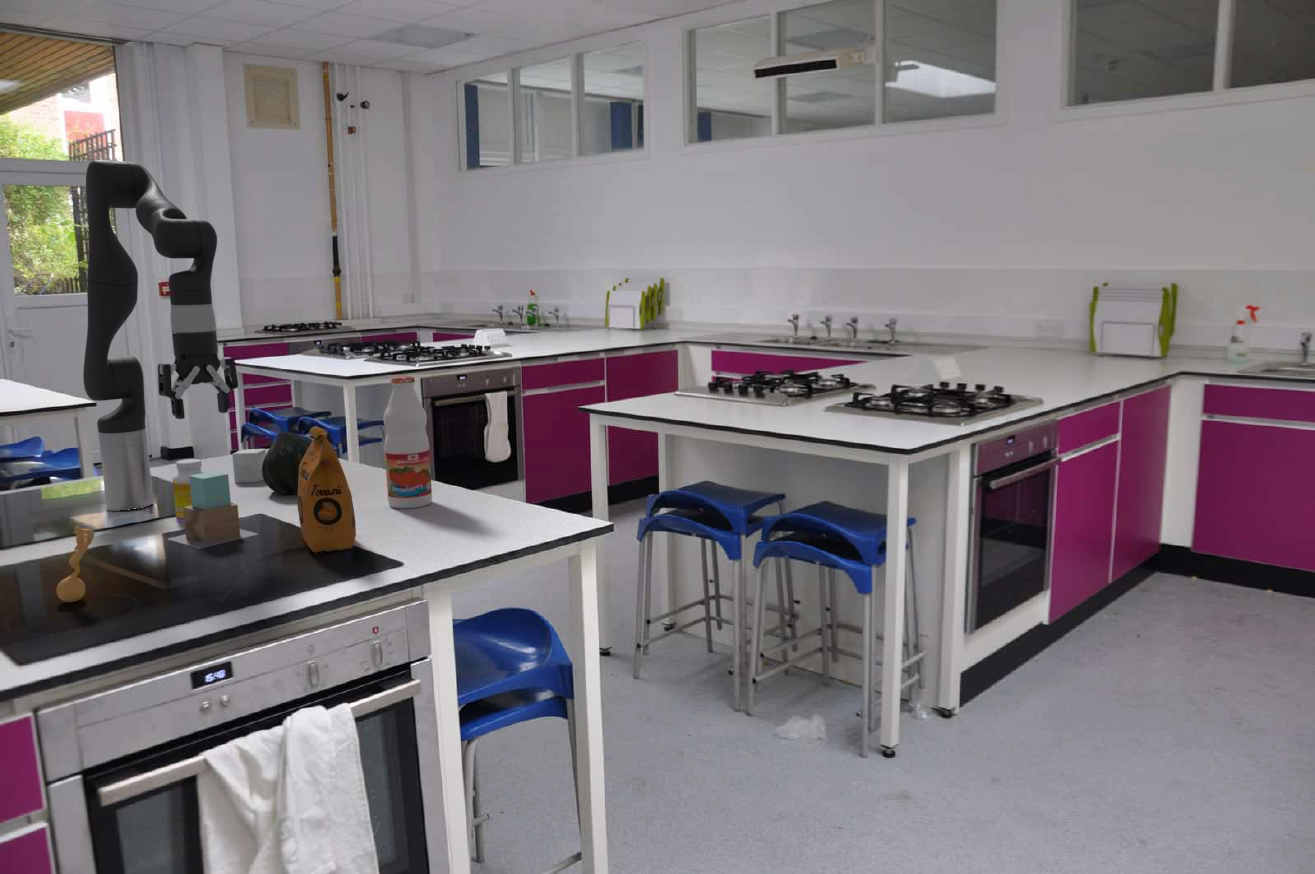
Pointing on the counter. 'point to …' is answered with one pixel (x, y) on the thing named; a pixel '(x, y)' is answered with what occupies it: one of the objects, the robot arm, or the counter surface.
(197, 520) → the walnut block
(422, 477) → the fruit juice
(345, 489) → the coffee package
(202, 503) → the teal block
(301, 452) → the squash
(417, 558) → the counter surface
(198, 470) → the supplement bottle
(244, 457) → the skincare box
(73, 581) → the figurine
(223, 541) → the slate pad
